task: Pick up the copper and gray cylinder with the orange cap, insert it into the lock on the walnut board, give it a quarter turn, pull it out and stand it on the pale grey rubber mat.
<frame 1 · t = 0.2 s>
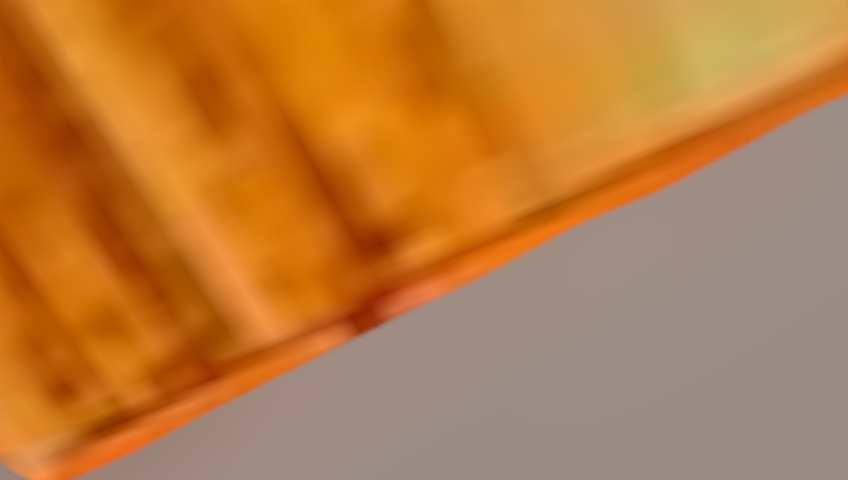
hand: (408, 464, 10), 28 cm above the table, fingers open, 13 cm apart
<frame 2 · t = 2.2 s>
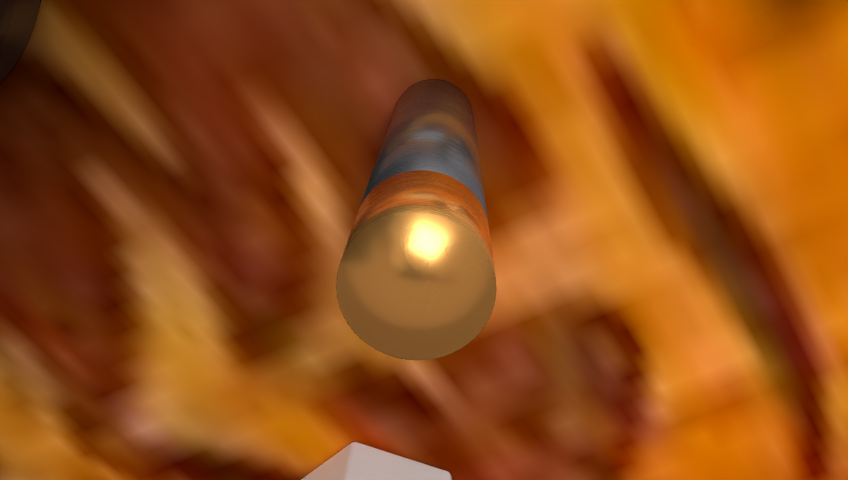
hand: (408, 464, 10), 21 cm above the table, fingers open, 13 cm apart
copper and gray cylinder: (433, 119, 30), on the table
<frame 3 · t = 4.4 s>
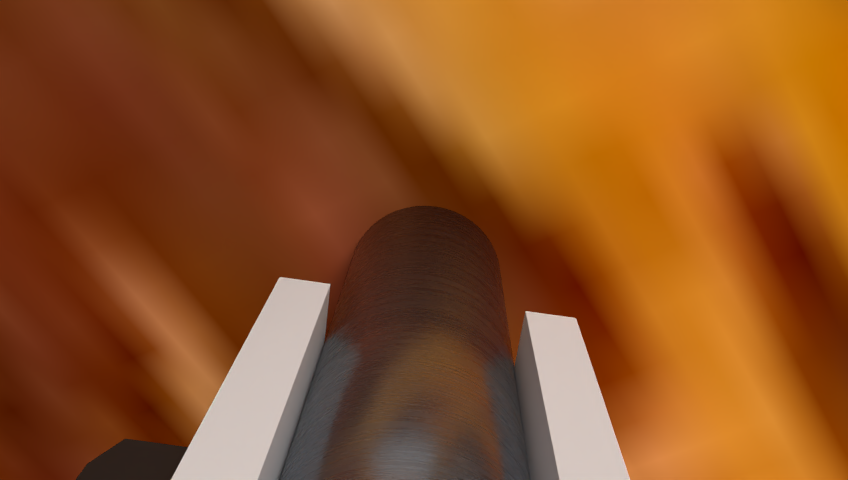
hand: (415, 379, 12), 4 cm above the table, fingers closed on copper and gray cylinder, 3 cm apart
copper and gray cylinder: (425, 277, 16), on the table, touching gripper
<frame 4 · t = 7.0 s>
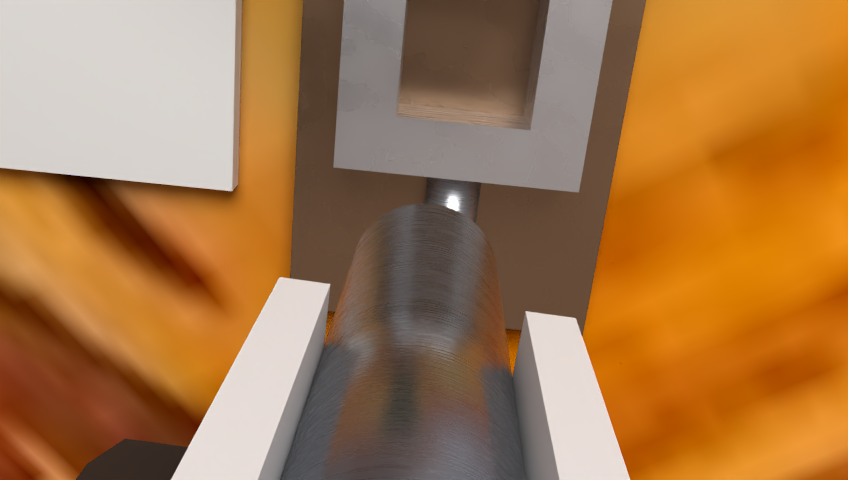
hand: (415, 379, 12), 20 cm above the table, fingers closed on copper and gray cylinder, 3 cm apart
mat: (95, 29, 30), on the table
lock: (467, 41, 30), on the table
copper and gray cylinder: (424, 272, 16), point 15 cm above the table, touching gripper
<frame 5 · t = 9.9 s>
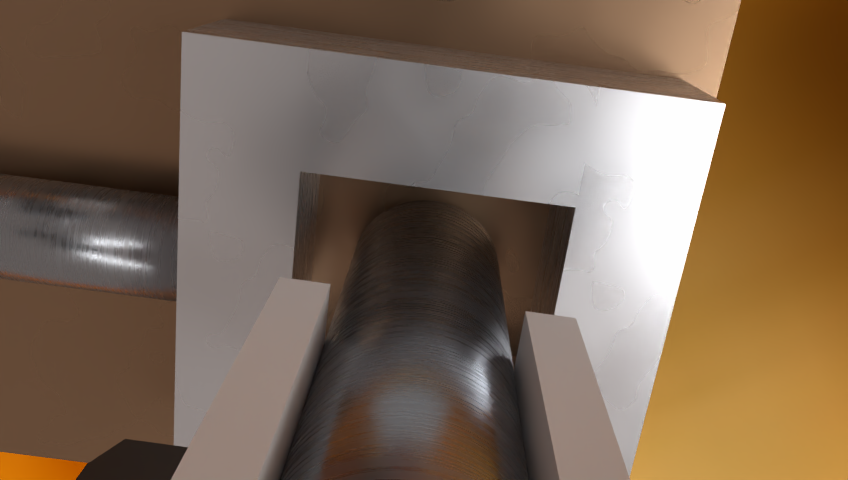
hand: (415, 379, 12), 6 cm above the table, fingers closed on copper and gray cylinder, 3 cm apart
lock: (427, 237, 18), on the table
copper and gray cylinder: (425, 269, 16), point 1 cm above the table, touching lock, gripper
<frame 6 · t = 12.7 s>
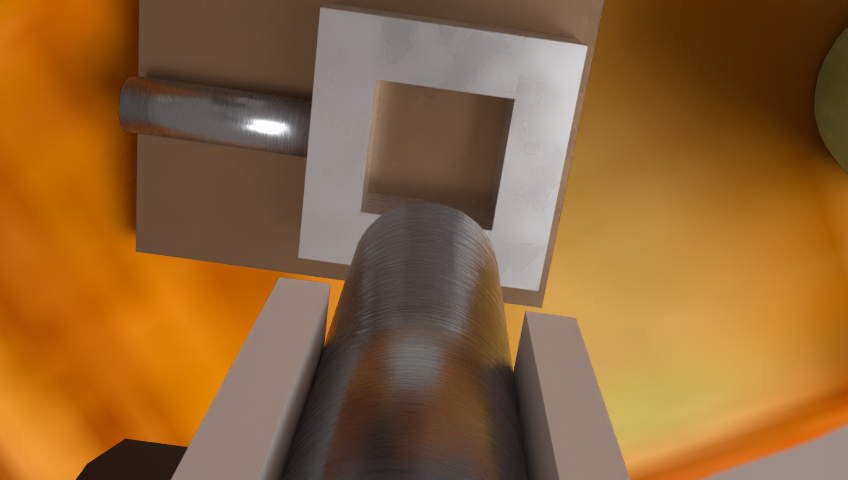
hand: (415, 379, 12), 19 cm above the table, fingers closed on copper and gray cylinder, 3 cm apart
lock: (437, 132, 31), on the table
copper and gray cylinder: (425, 272, 16), point 15 cm above the table, touching gripper
when the fingers open (6 cm above the table, at t = 15.4 s): copper and gray cylinder stays where it is, resting on mat.
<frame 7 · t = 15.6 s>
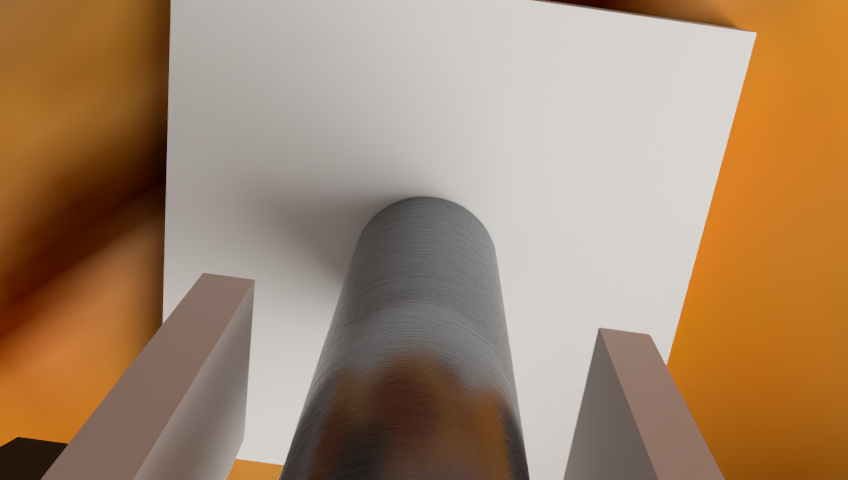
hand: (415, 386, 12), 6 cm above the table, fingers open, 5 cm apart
mat: (427, 246, 18), on the table
copper and gray cylinder: (425, 265, 17), point 1 cm above the table, touching mat
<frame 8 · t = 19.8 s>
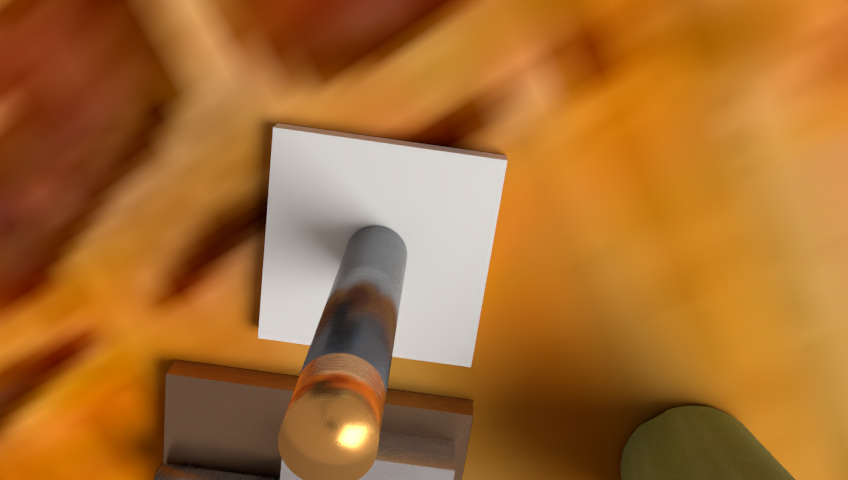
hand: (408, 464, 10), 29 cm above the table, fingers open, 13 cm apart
plant pot: (683, 459, 44), on the table
mat: (378, 246, 40), on the table
copper and gray cylinder: (376, 254, 39), point 1 cm above the table, touching mat
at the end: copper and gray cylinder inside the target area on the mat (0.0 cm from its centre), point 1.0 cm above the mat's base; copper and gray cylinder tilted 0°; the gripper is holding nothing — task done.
